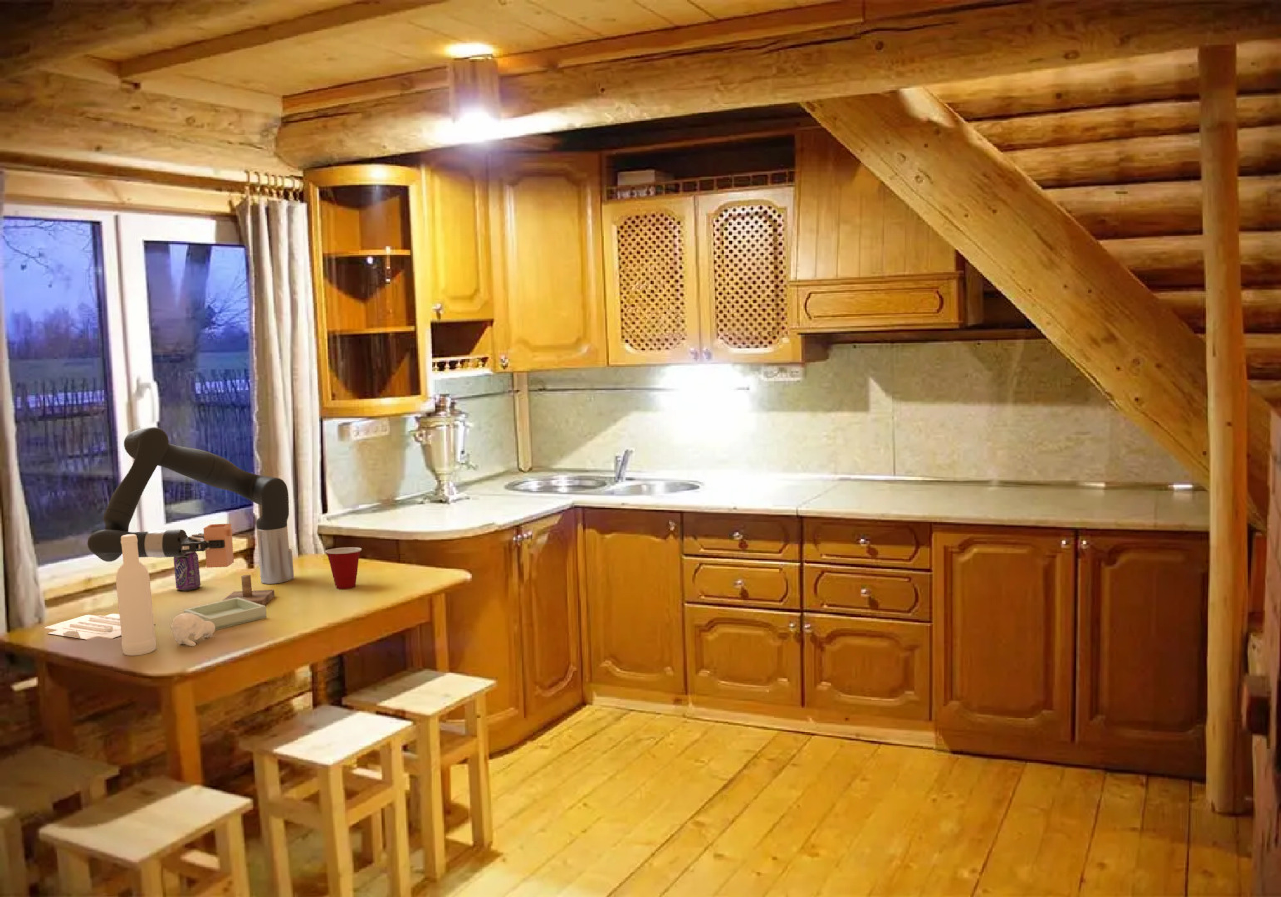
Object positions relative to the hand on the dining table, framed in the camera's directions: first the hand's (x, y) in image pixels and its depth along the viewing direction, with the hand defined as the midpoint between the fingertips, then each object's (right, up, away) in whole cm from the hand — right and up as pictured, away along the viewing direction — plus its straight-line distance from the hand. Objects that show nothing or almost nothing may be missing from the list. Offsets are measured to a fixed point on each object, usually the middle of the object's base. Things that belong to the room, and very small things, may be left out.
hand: (227, 541), depth 310 cm
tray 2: (-35, -24, 0) cm, 43 cm away
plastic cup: (+23, -17, +35) cm, 45 cm away
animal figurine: (-2, -25, -17) cm, 30 cm away
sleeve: (-2, -7, +1) cm, 7 cm away
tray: (-2, -22, +3) cm, 22 cm away
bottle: (-14, -26, -24) cm, 38 cm away
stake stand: (-2, -20, +20) cm, 28 cm away
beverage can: (-27, -18, +40) cm, 52 cm away
